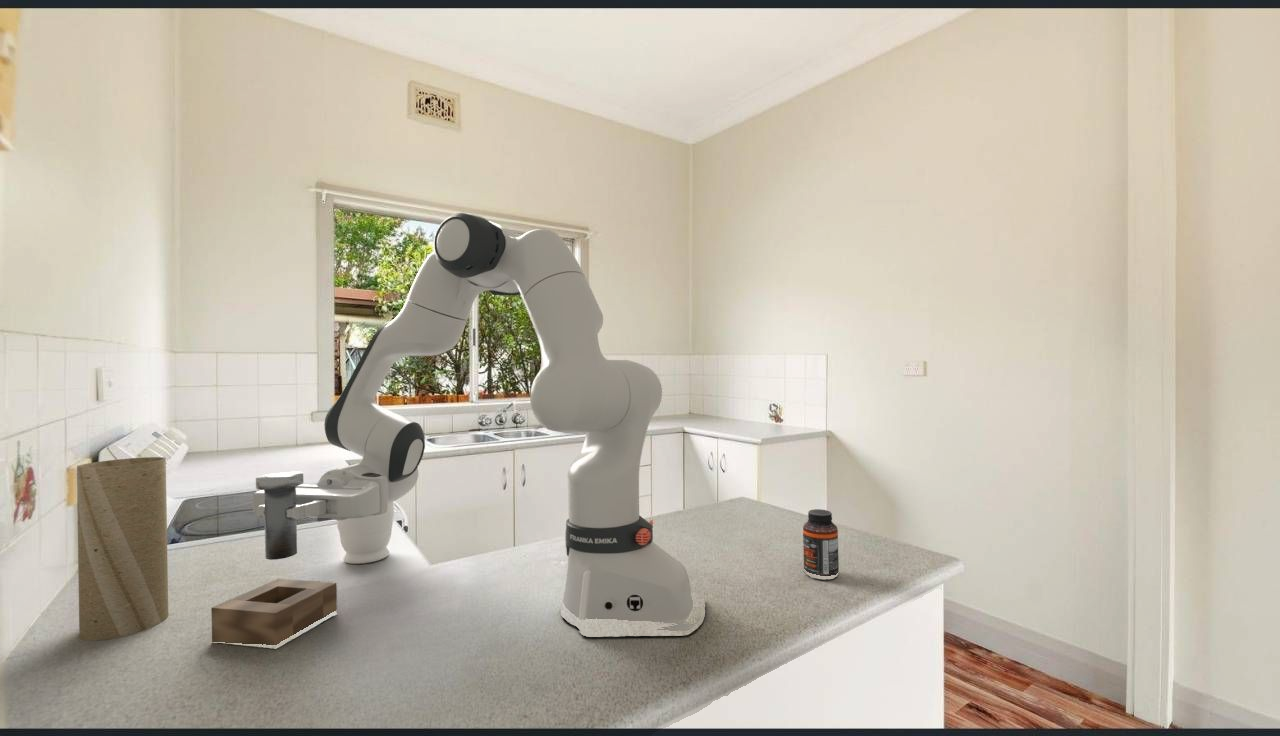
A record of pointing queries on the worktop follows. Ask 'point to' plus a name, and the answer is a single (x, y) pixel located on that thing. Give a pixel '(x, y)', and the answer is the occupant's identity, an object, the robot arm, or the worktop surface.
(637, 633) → the worktop surface
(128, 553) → the tube
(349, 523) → the jar
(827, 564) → the supplement bottle
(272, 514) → the pin
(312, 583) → the block
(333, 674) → the worktop surface
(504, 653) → the worktop surface
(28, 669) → the worktop surface
